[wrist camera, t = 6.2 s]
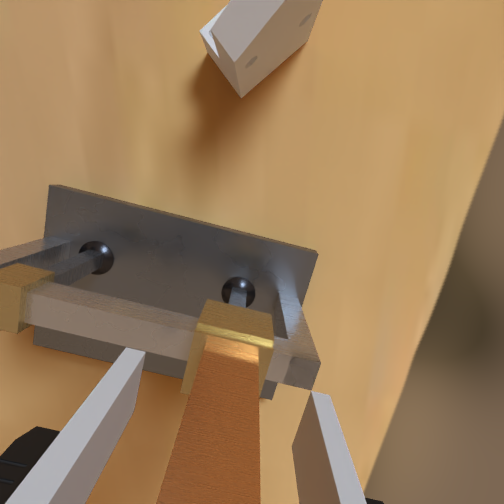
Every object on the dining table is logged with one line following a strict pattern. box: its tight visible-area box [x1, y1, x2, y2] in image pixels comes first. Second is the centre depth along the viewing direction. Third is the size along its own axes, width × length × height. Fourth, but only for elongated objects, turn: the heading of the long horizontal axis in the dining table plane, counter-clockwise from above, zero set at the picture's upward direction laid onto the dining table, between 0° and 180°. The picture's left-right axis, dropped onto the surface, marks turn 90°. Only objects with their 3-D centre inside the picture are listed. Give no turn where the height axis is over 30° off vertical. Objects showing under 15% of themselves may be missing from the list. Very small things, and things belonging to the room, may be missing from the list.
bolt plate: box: [33, 185, 318, 400], centre depth 24 cm, size 20×13×1 cm, turn 76°
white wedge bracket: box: [200, 0, 323, 98], centre depth 17 cm, size 4×10×9 cm
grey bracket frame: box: [0, 236, 321, 390], centre depth 19 cm, size 19×2×9 cm, turn 75°
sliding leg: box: [156, 287, 274, 504], centre depth 14 cm, size 4×4×20 cm
